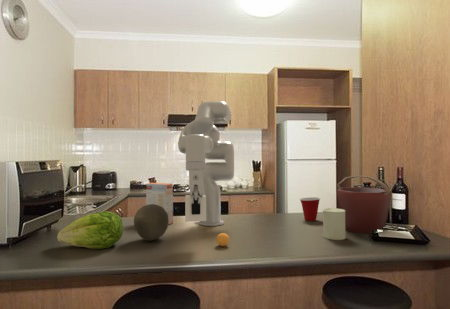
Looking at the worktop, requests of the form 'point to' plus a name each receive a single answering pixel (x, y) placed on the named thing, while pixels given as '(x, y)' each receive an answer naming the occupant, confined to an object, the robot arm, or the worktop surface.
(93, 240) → the lettuce
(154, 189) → the cracker box
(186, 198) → the white sugar cube
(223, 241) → the ball
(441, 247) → the worktop surface
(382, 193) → the bucket
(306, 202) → the plastic cup
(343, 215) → the can
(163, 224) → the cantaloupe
